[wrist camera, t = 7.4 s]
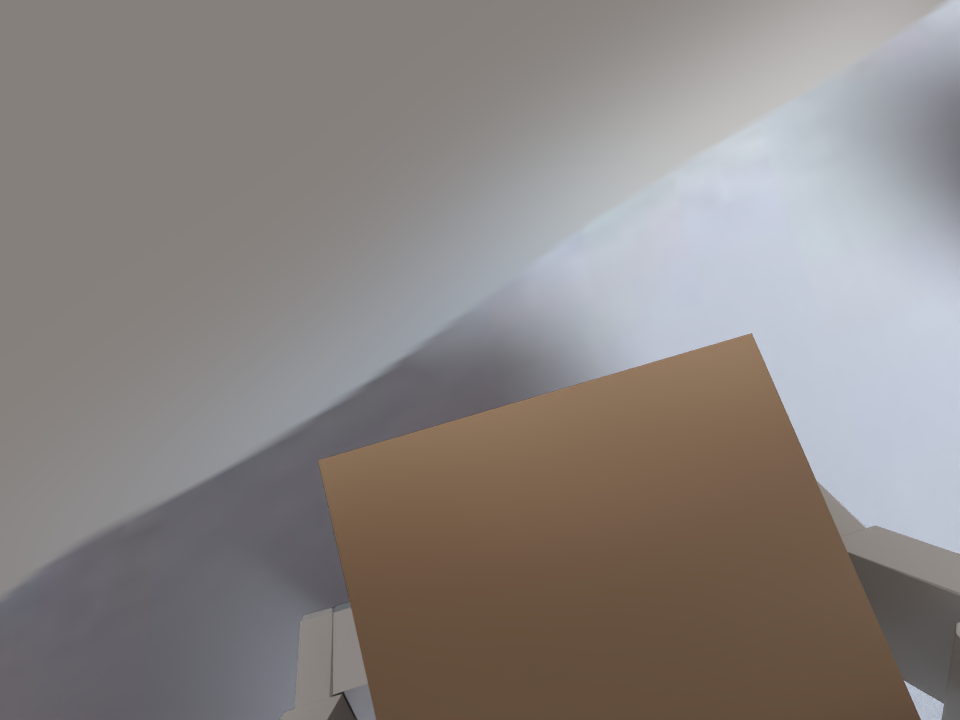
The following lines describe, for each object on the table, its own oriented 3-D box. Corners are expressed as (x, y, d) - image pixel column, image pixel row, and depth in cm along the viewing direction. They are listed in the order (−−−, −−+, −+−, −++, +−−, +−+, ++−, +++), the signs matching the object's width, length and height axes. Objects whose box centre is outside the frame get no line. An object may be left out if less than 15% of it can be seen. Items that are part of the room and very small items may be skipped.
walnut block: (696, 681, 15) (967, 826, 6) (474, 753, 15) (442, 1010, 6) (618, 459, 16) (751, 333, 8) (414, 520, 16) (318, 461, 7)
